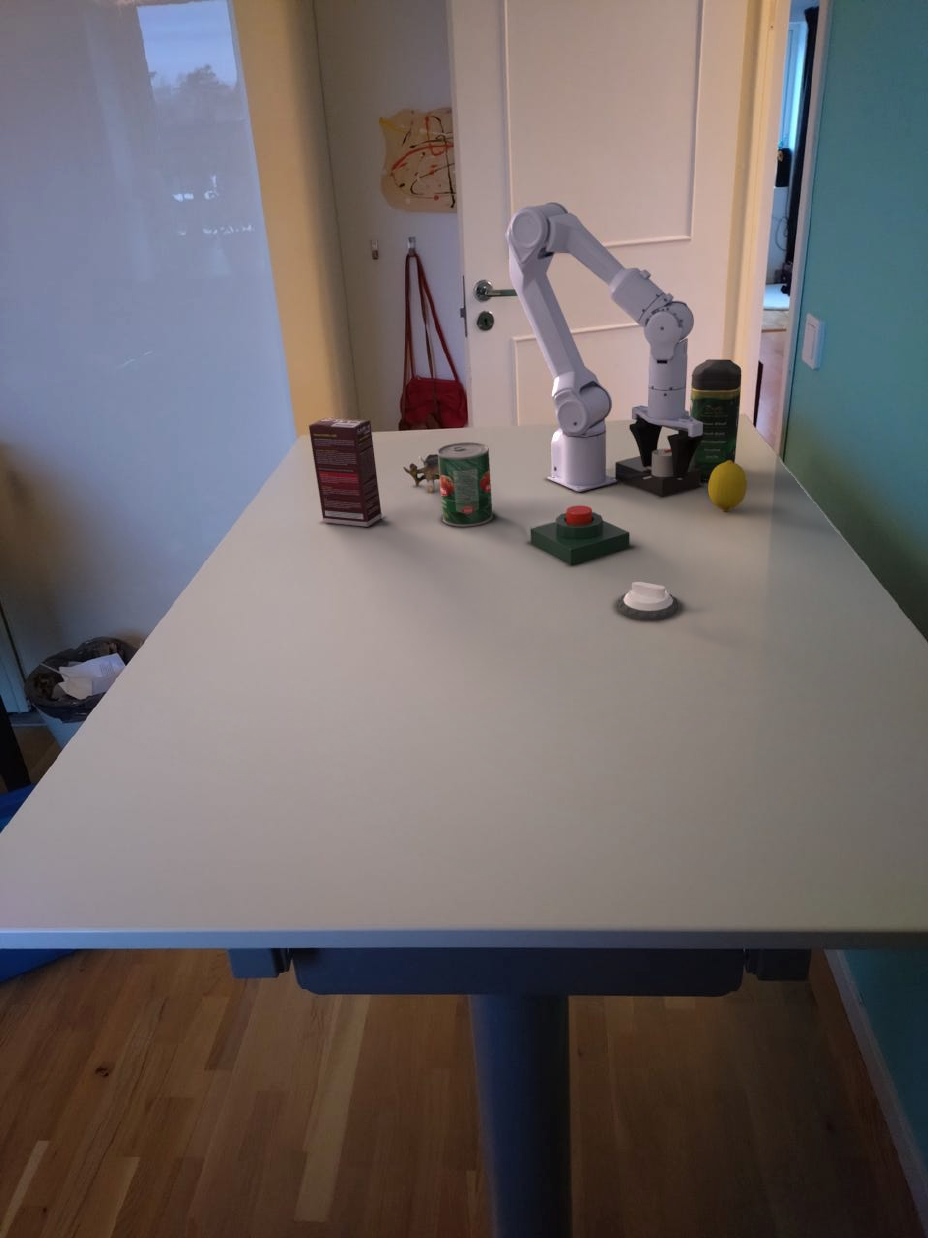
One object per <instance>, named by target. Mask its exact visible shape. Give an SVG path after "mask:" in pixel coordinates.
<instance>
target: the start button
mask: <svg viewBox="0 0 928 1238" xmlns="http://www.w3.org/2000/svg"><path fill="white" fill-rule="evenodd" d="M592 512H593V508H591V507H590V506H588V505H581V504H580V505H579V504H578V505H573V506H568V507H567V508H566V510H565V513H566V522H567V523H569V524H574V525H581V524H587V523H591V522H592Z"/></svg>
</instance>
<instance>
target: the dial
mask: <svg viewBox="0 0 928 1238" xmlns="http://www.w3.org/2000/svg"><path fill="white" fill-rule="evenodd" d="M651 473H652V475H654V476H657V477H671V476H673V465H672V452H671V448H657V450H654V451H653V452H652V469H651Z"/></svg>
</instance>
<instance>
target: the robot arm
mask: <svg viewBox="0 0 928 1238" xmlns="http://www.w3.org/2000/svg"><path fill="white" fill-rule="evenodd" d="M508 224H509V225H508V227H507V230H506V232H505V236H504V237H505V238H506V241H507V243H508V246H509V247H508V249H509V250H508V252H509V254H508V255H509V257H508V258H509V259H508V261H509V263H508V264H509V268H508V269H509V278H510V282H511V283H512V286H513V288H514V291H515V293H516V296H517V298H518V299H519V302H520V304H521V307H522V309H523V312H524V315H525V316H526V319H527V321H528V323H529V325H530V328H531V330H532V332H533V335H534V337H535V340H536V342H537V344H538V346H539V349H540V351H541V354H542V356H543V359H544V360H545V363H546V365H547V367H548V370H549V372H550V374H551V377H552V379H553V381H554V382H553V387H552V391H551V398H552V401H553V403H554V408H555V411H554V417H555V421H556V424H557V425H558V427H559V428H557V429H556V430H555V432H554V433H553V436H552V438H551V443H550V448H551V449H550V457H551V458H550V459H551V474H549V475H548V476H547V479H548V480H550V481H552V482H554V483H557V484H559V485H561V486H564V487H566V488H568V489H570V490H573V491H575V492H577V493H582V492H585V491H589V490H593V489H597V488H600V487H605V486H608V485H613V484H616V483H617V482H618V480H617V479H615V478H614V477H611V476H608V475H607V471H606V470H607V425H606V418H608V416H609V415H610V413H611V411H612V408H613V400H612V397H611V394H610V392H609V391H608V390H607V389H606V388H605V387H604V386H603V385H602V384H601V383H600V381H599V379H598V377H597V375H596V374H595V373H594V372H593V371H592V370H590V369H589V368H588V367H586V366H585V363H584V360H583V359H582V356H581V354H580V352H579V349H578V346H577V344H576V342H575V340H574V336H573V335H572V332H571V330H570V327H569V324H568V323H567V320H566V318H565V316H564V313H563V311H562V308H561V306H560V304H559V301H558V298H557V296H556V294H555V292H554V290H553V287H552V284H551V283H550V280H549V277H548V275H547V274H548V273H547V272H548V270H549V268H550V265H551V263H552V261H553V258H554V255H555V254H556V253H560V254H569V255H570V256H572V257H573V258H575V259H576V260H577V261H578V262H580V263H581V264H582V265H583V266H584V267H585V268H586V269H588V270H589V271H590V272H591V273H593V275H595V276H596V277H598V278H599V279H600V280H601V281H603V282H604V283H605V284H606V285H607V286H608V287H609V295H610V299H611V301H612V302H614V303H615V304H616V305H617V306H618V307H619V308H620V309H621V310H622V311H623V312H624V313H625V314H627V315H628V316H629V317H630V318H631V319H632V320H633V321H634V322H635V323H636V324H638V325H639V327H642V328H643V329H642V331H643V335H644V338H645V340H646V342H648V345H649V356H648V384H647V406H646V405H637V406H632V407H631V419H632V420H633V421H634V422H635V423H634V422H633V423H630V424H629V427H628V428H629V430H630V432H631V434H632V436H633V438H634V440H635V442H636V446H637V449H638V452H639V456H640V457H641V461H642V465H643V467H649V466H652V452H653V451H654V450H657V449H658V445H659V439H660V435H661V432H662V429H663V428H667V429H669V430H673V431H676V432H677V433H673V434H670V435H667V436H666V439H667V441H668V445H669V447H670V448H671V452H672V465H673V476H674V478H676V479H679V478H682V477H686V475H687V472H688V469H689V466H690V463H691V460H692V457H693V455H694V453H695V451H696V449H697V447H698V445H699V444H700V442H701V441H702V439H703V437H704V434H703V433H702V431H703V422H700V421H697V420H695V419H694V418H692V417H691V416H689V415H690V410H688V409H687V410H686V399H687V382H688V381H687V378H688V360H689V359H688V349H689V348H688V347H689V338H688V336H689V335H690V334H691V332H692V331H693V328H694V324H695V318H694V317H695V316H694V313H693V312H692V310H691V309H690V307H689V306H688V304H687V303H686V302H685V301H682V300H674V295H672V294H671V292H668V293H666V292H664V291H663V290H662V289H661V288H660V287H659V286H658V285H657V284H656V283H655V282H654V281H652V280H651V276H652V274H651V273H650V272H649V271H648V270H647V269H642V270H640V268H638V267H629V268H626V267H625V266H623V264H622V263H621V262H619V260H618V259H617V258H616V257H615V256H614V255H613V254H612V253H611V252H610V251H609V250H608V249H607V248H606V247H605V246H604V244H602V243H601V242H600V241H599V240H598V239H597V237H595V236H594V235H593V234H592V233H591V232H590V230H588V229H587V228H586V227H585V225H584V224H583V223H582V222H581V219H579V217H578V216H577V215H575V214H574V213H573V212H569V211H568V209H567V208H566V207H565V206H564V205H563V204H562V203H559V202H556V201H554V202H553V201H550V202H547V203H544V204H539V205H530V206H529V205H527V206H523V207H521V208H518V210H516V211H515V212H514V214H513V215H512V217H511V218H510V221H509V223H508ZM670 448H669V449H670Z"/></svg>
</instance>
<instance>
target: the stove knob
mask: <svg viewBox="0 0 928 1238" xmlns="http://www.w3.org/2000/svg"><path fill="white" fill-rule="evenodd" d="M617 602H618V603H617V610H618V612H619V613H620V614H621V615H623V616H625V617H627V618H628V619H629V618H630V619H633V620H638V621H643V622H644V621H645V622H655V621H662V620H667V619H670V618H671V617H673V616H675V615H676V614H677V613H678V612H679V609H680V607H679V602H678V599H677V598H676V597H675V596H673V595H672V594H671V593H669V592H668V591H667V590H666V587H665V586H664V585H659V584H655V583H648V582H642V581H633V582H632V583H631V589H630V590H628V592H627V593H624V594H623V595H621V596H620V598H619V599H618V601H617Z"/></svg>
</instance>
